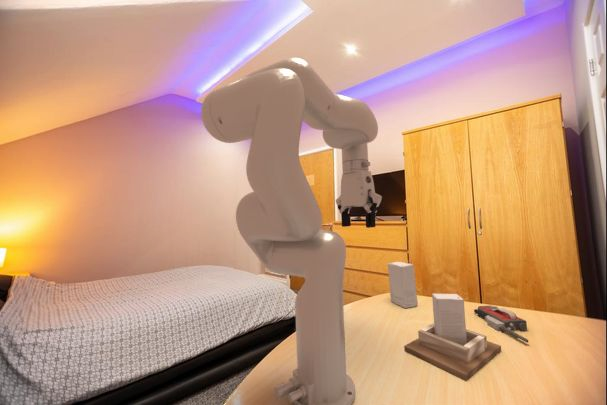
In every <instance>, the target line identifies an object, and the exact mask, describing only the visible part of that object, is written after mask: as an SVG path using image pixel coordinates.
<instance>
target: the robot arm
mask: <svg viewBox="0 0 607 405" xmlns="http://www.w3.org/2000/svg"><path fill="white" fill-rule="evenodd" d="M200 111H201V112H200V116H201V120H202V121H201V122H202V123H203V125H204V128H205V130H206V131H207V132H208V133H209V135H211V137H213V138H214V139H216V140H217V141H218V142H222V143H226V144H227V143H228V144H234V143H239V142H244V141H249V140H251V141H250V144H249V151H248V153H247V154H248V155H247V159H246V167H245V170H246V178H247V181H248V183H249V185H250V188H251V189H252V192H249V193H247V194H246V195H244V196H243V197H242V198H241V199H240V200H239V201H238V204H237V205H236V206H237V207H236V210H235V211H236V212H235V221H236V222H235V223H236V225H237V226H236V227H237V230H238V232H239V234H240V236H241V237H242V238H243V240H244V241H245V243H246V245H247V246H248V247H249V248H250V250H251V251H252V253H254V256H256V257H257V258H258V260H259V262H261V264H262V265H263V266H264V267H265V268H266V269H267V270H268V271H269V272H271V273H274V274H278V275H283V276H284V275H285V276H292V277H299V278H304V283H303V284H302V286H301V288H300V289H299V290H298V292H297V295H296V296H295V302H294V311H295V337H296V340H295V341H296V366H297V368H295V369H293V370H292V376H291V377H290V378H289V379H288V381H287V382H285V383H283V382H282V383H281V384H279V385H277V386H274V393H275V394H274V395H275V397H276V399H277V400H280V399H283V398H284V397H286V396H287V399H288V402H289V403H290V404H292V403H293V404H294V405H352V404H353V403H354V401H355V397H356V386H355V383H354V380H353V379H352V378H351V376H349V375H348V374H347V362H346V361H347V358H346V338H345V335H346V334H345V332H346V331H345V314H344V313H345V312H344V310H345V309H344V276H345V275H344V274H345V268H346V267H345V266H346V258H347V246H346V242H345V240H344V238H343V237H342V236H341V235H340V234H339V233H337V232H335V231H334V230H330V229H329V230H328V229H322V226H323V215H322V212H321V208H320V206H319V203H318V201H317V199H316V196H315V194H314V192H313V189H312V188H311V185H310V183H309V181H308V178H307V177H306V174H305V172H304V170H303V167H302V164H301V160H300V154H299V153H300V141H301V140H300V139H301V131H302V126H303V123H304V124H306V125H307V126H308V127H309V128H312V129H315V130H318V131H319V130H320V131H322V138H323V140H324V141H323V142H325V144H326V145H327V146H328V147H329V148H332V149H339V150H341V162H342V163H341V165H342V166H341V167H342V174H341V179H340V196H338V198H336V199H335V203H336V207H337V209H338V211H339V213H340V215H341V227H343V228H344V227H351V226H352V224H351V222H352V221H351V220H352V219H351V213H350V210H351V209H352V208H357V207H359V208H361V207H362V208H364V210H365V211H366V213H365V227H366V228H367V229H369V228H376V213H377V212H378V209H379V208H380V206H381V203H382V198H383V196H382V195H381V194H378V193H376V191H375V190H376V188H375V183H374V179H373V175H372V174H373V173H372V172H371V171H370V170H369V168H370V166H371V161H369V152H368V151H369V150H368V148H369V147H368V144H369V143H372V142H374V141H375V139H377V136H378V132H379V126H378V121H377V118H376V116H375V114H374V113H373V111H372V109H371V107H370V106H369V105H368V104H367V103H365V102H364V101H362V100H360V99H357V98H353V97H350V96H347V95H343V94H338V93H334V92H333V91H332V89H331V88H330V87H329V86H328V84H326V82H325V81H324V80H323V78H321V76H320V75H319V74H318V72H317V71H316V70H315V68H313V67H312V66H311V64H309V63H308V62H307V61H306V60H305V59H302V58H299V57H289V58H285V59H283V60H280V61H277V62H275V63H271V64H269V65H268V66H264V67H262V68H260V69H257V70H254V71H252V72H251V73H248V74H246V75H244V76H243V77H241V78H239V79H237V80H235V81H233V82H231V83H229V84H225V85H224V86H222V87H220V88H216V89H215V90H212V91H211V92H209V93H208V94H207V95H206V97H205V98H204V100H203V102H202V104H201V110H200Z"/></svg>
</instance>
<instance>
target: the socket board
mask: <svg viewBox="0 0 607 405" xmlns="http://www.w3.org/2000/svg"><path fill="white" fill-rule="evenodd" d="M417 335H418V338H416V339H414V340H413V341H411V342H409V343H407V344H405V345H404V346H403V348H404V352H407V353H408V354H410V355H413V356H414V357H417V358H418V359H420V360H422V361H425V362H427V363H429V364H431V365H432V366H434V367H437V368H439V369H441V370H443V371H445V372H448V373H449V374H451V375H453V376H455V377H456V378H457V377H458V378H460V379H461V380H463V381H466V382H467V381H468V380H469V379H471V377H473V376H474V375H475V374H476V373H477V372H478V371H479V370H481V369H482V368H483V367H484V366H485V365H487V364H488V363H489V362H490V361H491V360H493V358H495V357H496V356H497V355H498V354H499V353H500V352H502V346H501V345H500V344H497V343H494V342H491V341H489V340H487V335H485V334H481V333H479V332H476V331H473V330H470V329H467V328H466V337H467V344H465V345H464V346H462V345H460V344H457V343H455V342H452V341H449V340H447V339H444V338H442V337H439V336H436V335H435V328H434V322H433V323H431V324H429V325H427V326H425V327H423V328H421V329H419V330H418V331H417Z"/></svg>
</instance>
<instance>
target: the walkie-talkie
mask: <svg viewBox="0 0 607 405" xmlns="http://www.w3.org/2000/svg"><path fill="white" fill-rule="evenodd" d="M473 312H474V313H475V314H477V316H478V317H480V318H481V319H484V321H486V322H487V326H489V327H491V328H492V329H494V330H496V331H498V332H500V331H501V332H502V331H503V332H505V333H507V334H508V335H510V336H512V337H514V338H516V339H519V340H520V341H523V342H525V343H529V339H527V338H526V337H525V336H522V335H520V334H518V333H516V331H523V332H525V331H527V330H528V324H527V320H525V319H523V318H521V317H518V316H517V315H516V313H514V312H513V311H510V310H508V309H507V308H499V307H498V306H497V305H480V306H477V309H476V308H475V309H473ZM514 331H515V332H514Z"/></svg>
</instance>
